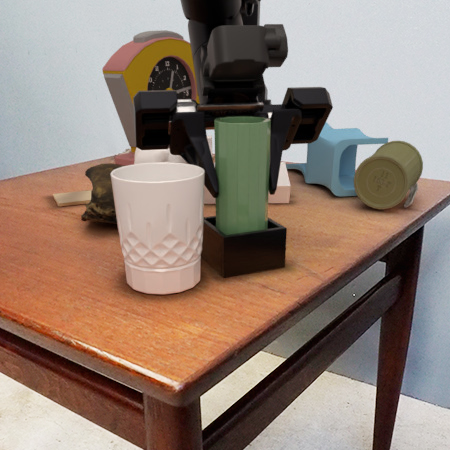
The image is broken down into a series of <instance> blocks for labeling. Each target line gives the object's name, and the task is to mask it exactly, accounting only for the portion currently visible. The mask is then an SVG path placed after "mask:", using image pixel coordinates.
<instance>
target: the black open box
mask: <svg viewBox="0 0 450 450" xmlns="http://www.w3.org/2000/svg"><path fill="white" fill-rule="evenodd" d="M287 231H288V227H286V226H284V225H282V224H281V223H279V222H277V221H275V220H273V219H272V218H270V217H268V229H265V230H258V231H251V232H244V233H237V234H230V235H226V234H224V233H223V232H222V231H220V230H219V229H218V228H216V215H211V216H204V222H203V242H202V252H201V259H203V260H204V261H205V262H206V263H207V264H208V265H209V266H210V267H211V268H212V269H213V270H215V271H216V272H217V273H218V274H219V275H220V276H222V278H231V277H236V276H243V275H247V274H255V273H260V272H267V271H271V270H277V269H282V268H283V269H284V268H286V256H287V255H286V254H287V235H288V234H287V233H288V232H287Z"/></svg>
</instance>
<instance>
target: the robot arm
mask: <svg viewBox="0 0 450 450" xmlns="http://www.w3.org/2000/svg"><path fill="white" fill-rule="evenodd" d="M261 1H262V0H180V6H181V10H182V13H183V15H184V17H185V19H186V20H188V22H187V31H188V39H189V43H190V45H191V51H192V58H193V64H194V71H195V77H196V84H197V94H198V97H199V103H200V104H198V103H197V102H196V101H195V100H193V99H177V91H175V90H154V91H138V92H137V94H136V95H135V96H134V97H133V108H134V131H135V141H136V147H137V148H139V149H141V150H161V149H168V148H169V147H170V148H169V149H170V153H171V154H172V155H180V156H181V157H182V158H183V159H184V160H185V161H186V162H187V164H191V165H196V166H199V167H201V168H203V169H204V171H205V180H204V185H205V186H206V188H207V189H208V191H209V192H210V194H211V195H212V196H213V198H218V195H219V188H218V179H217V174H216V170H215V167H214V163H215V162H214V160H213V159H214V158H213V154H212V155H211V151H210V147H209V144H208V140H207V136H208V134H207V131H210V130H213V131H214V132H215V125H214V120H215V119H217V118H220V117H229V116H256V117H265V118H269V119H270V120H271V130H270V163H269V193H270V195H274V194H275V192H276V189H277V183H278V176H279V170H280V164H281V162H282V157H283V151H287V150H289V149H290V148H291V146H292V145H304V144H305V145H306V144H308V143H312V142H314V141H316V140H317V139H318V137H319V135H320V133H321V131H322V129H323V127H324V125H325V123H326V122H327V120H328V118H329V117H330V114H331V112H332V110H333V108H334V107H333V103H332V99H331V94H330V92H329V91H328V90H327V88H326V87H323V86H299V87H297V86H295V87H294V86H293V87H292V86H291V87H287V88H286V91H285V94H284V97H283V100H282V103H281V104H279V103H278V104H272V99H268V87H267V86H266V83H265V77H264V73H265V71H266V70H267V69H269V68H281V67H282V66H283V64H284V63H285V61H286V60H287V58H288V55H289V54H288V53H289V46H288V44H289V43H288V36H287V33H286V28H285V26H284V24H283V23H265V24H264V25H260V23H261V22H260V21H261V20H260V19H261Z"/></svg>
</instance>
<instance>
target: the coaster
mask: <svg viewBox="0 0 450 450" xmlns="http://www.w3.org/2000/svg"><path fill="white" fill-rule="evenodd" d="M91 191H92V189H89V190H78V191H68V192H57V193H52V198H53V199H54V201H55V203H56V206H57V207H59V208H61V207H68V206H78V205H79V206H80V205H86V204H88V203H89V202H90V201H91Z"/></svg>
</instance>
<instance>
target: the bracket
mask: <svg viewBox="0 0 450 450" xmlns="http://www.w3.org/2000/svg"><path fill="white" fill-rule="evenodd" d="M207 140H208V144H209V147H210V151H211V155H212V156H213V135H207ZM213 163H214V167H215V162H213ZM286 164H287V163H286V161H281V164H280V170H279V176H278V183H277V189H276V192H275V194H274V195H270V193H269V196H268V204H289V203H290V198H291V197H290V195H291V186H292V185H291V182H290V178H289V177H290V176H289V173H288V169H287V168H286ZM204 205H216V202H215V198H213V196H212V195H211V194H210V192H209V191H208V189H207V188H206V186H205V185H204Z"/></svg>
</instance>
